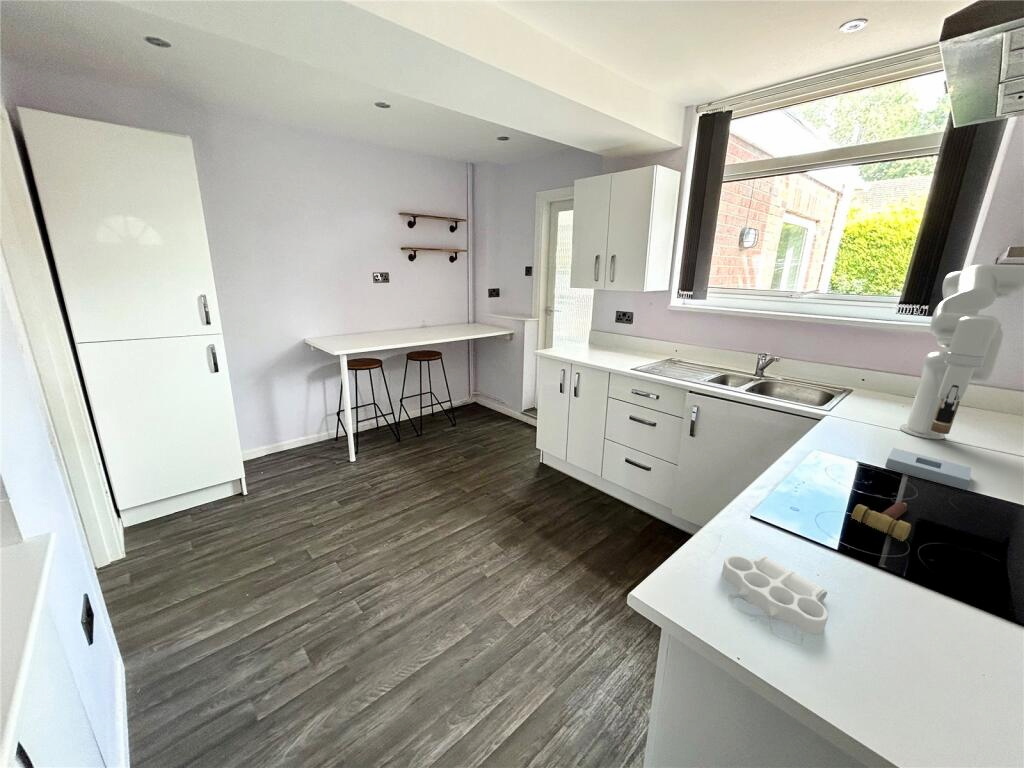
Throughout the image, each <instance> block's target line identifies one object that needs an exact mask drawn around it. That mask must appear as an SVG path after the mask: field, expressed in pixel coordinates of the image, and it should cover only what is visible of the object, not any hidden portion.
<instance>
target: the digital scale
mask: <svg viewBox="0 0 1024 768" xmlns="http://www.w3.org/2000/svg"><path fill="white" fill-rule="evenodd" d="M885 466H886V467H885V468H888V467H889V468H888V469H891V468H892V470H896V471H899V472H902V473H906V474H910V475H912V476H916V477H920V478H924V479H927V480H931V481H934V482H938V483H940V484H945V485H949V486H952V487H955V488H958V489H962V490H965V491H966V490H968V486H969V484H970V480H971V472H972V471H971V469H972V467H970V466H966V465H962V464H958V463H954V462H951V461H946V460H944V459H943V460H942V459H938V458H934V457H931V456H928V455H923V454H919V453H916V452H912V451H907V450H904V449H900V448H896V447H893V448H892V450H891V451H890V453H889V455H888V457H887V460H886V463H885Z"/></svg>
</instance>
